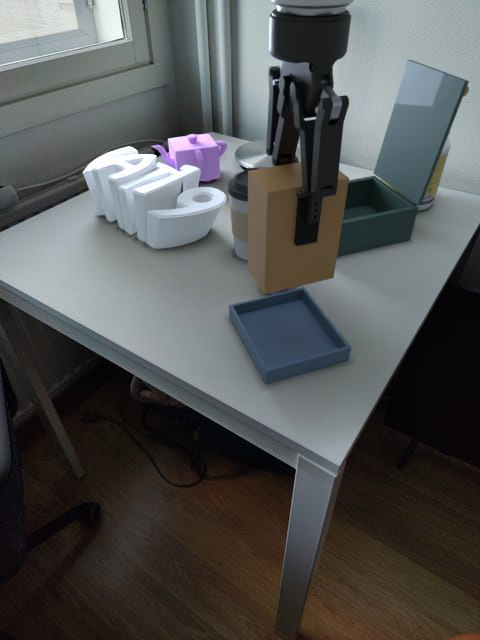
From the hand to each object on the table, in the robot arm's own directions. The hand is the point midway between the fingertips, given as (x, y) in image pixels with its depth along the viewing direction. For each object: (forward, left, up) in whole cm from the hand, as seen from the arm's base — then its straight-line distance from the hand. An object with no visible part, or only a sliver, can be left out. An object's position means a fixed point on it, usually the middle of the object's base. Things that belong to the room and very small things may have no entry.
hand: (293, 228), depth 58 cm
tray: (0, 0, -19) cm, 19 cm away
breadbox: (+24, -24, -19) cm, 39 cm away
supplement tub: (+31, -43, -19) cm, 56 cm away
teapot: (+60, -2, -19) cm, 63 cm away
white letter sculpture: (+44, +11, -19) cm, 49 cm away
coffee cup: (+24, -4, -19) cm, 31 cm away
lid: (+24, -35, -1) cm, 42 cm away
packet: (0, 0, -7) cm, 7 cm away
